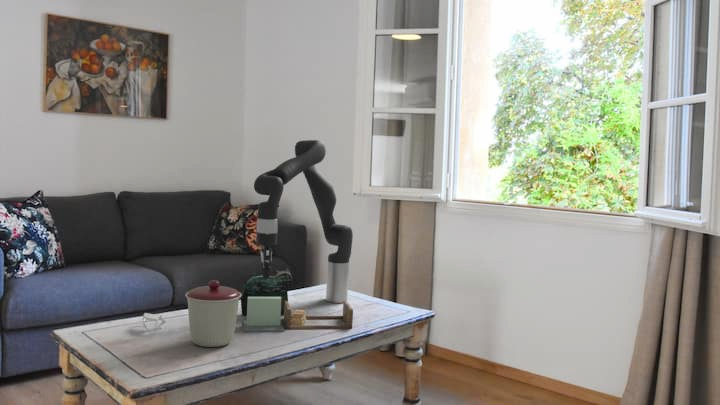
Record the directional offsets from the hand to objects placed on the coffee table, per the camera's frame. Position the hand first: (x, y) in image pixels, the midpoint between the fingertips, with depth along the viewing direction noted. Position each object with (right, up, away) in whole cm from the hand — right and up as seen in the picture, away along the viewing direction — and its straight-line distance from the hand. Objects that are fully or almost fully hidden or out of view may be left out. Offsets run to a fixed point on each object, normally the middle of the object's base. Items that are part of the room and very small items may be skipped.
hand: (265, 275), depth 233 cm
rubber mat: (-1, -19, +2) cm, 19 cm away
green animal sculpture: (-3, -18, +18) cm, 25 cm away
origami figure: (-39, -18, -9) cm, 44 cm away
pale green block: (-1, -18, +2) cm, 18 cm away
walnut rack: (+18, -19, +9) cm, 28 cm away
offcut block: (+11, -19, +8) cm, 24 cm away
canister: (-15, -20, -21) cm, 32 cm away
